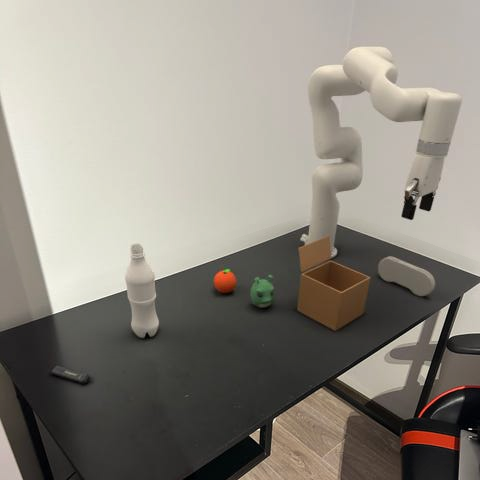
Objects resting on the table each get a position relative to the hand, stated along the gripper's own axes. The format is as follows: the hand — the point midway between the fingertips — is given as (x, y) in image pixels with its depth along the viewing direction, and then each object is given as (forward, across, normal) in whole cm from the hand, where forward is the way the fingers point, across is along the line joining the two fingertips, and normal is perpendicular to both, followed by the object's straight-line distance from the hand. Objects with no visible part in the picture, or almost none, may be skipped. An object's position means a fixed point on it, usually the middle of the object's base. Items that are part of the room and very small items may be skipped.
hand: (416, 214), depth 122 cm
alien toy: (+28, +32, -25) cm, 49 cm away
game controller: (+28, -10, -3) cm, 30 cm away
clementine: (+28, +34, -39) cm, 59 cm away
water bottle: (+28, +65, -37) cm, 80 cm away
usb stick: (+28, +88, -34) cm, 98 cm away
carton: (+28, +19, -10) cm, 35 cm away
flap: (+12, +19, -17) cm, 28 cm away
